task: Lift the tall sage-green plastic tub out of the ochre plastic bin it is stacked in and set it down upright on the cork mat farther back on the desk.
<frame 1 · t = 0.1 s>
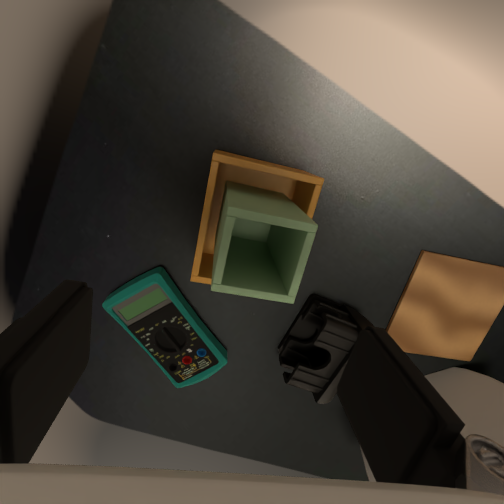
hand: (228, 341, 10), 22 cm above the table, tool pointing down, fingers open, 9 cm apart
end cap: (316, 329, 38), on the table
digital multimeter: (172, 323, 36), on the table
sage tub: (248, 215, 31), point 1 cm above the table, touching ochre bin
cork mat: (446, 309, 38), on the table
alarm clock: (412, 397, 44), on the table
ochre bin: (248, 213, 32), on the table
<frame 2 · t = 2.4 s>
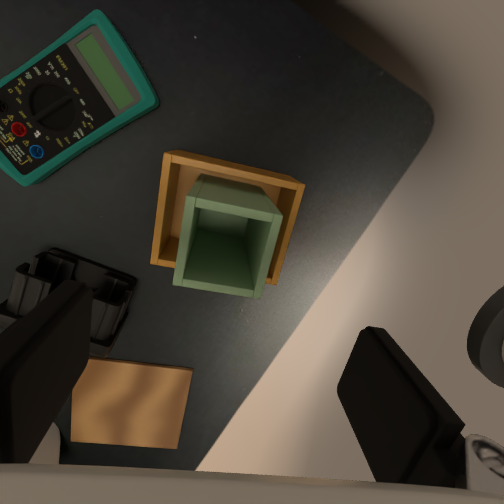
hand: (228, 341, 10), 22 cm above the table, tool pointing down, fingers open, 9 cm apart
end cap: (87, 288, 33), on the table
digital multimeter: (72, 108, 26), on the table
sage tub: (225, 209, 30), point 1 cm above the table, touching ochre bin
cork mat: (130, 404, 39), on the table
alarm clock: (5, 403, 37), on the table
ochre bin: (225, 208, 31), on the table
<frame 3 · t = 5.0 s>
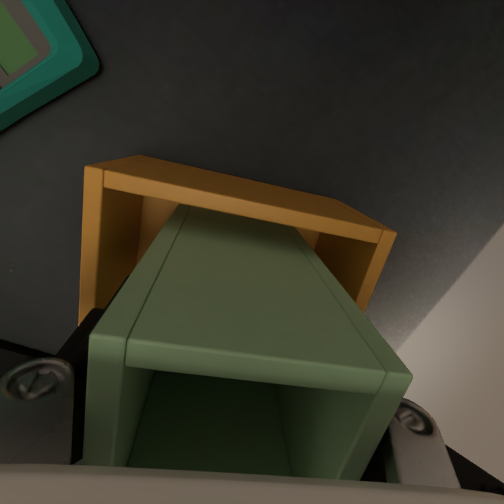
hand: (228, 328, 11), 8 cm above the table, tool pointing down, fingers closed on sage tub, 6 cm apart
end cap: (1, 380, 20), on the table
sage tub: (226, 257, 17), point 1 cm above the table, touching gripper, ochre bin
ochre bin: (226, 253, 18), on the table
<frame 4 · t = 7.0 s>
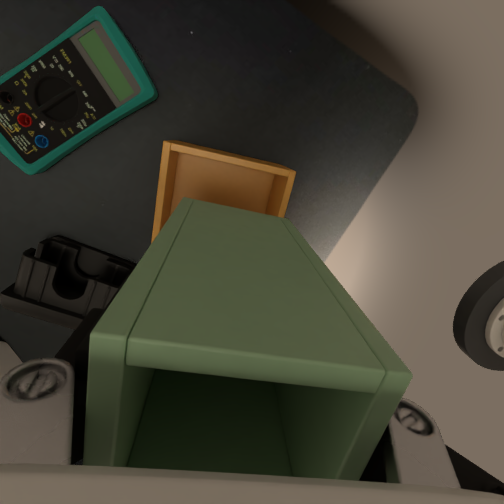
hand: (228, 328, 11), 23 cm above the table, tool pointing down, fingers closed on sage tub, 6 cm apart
end cap: (89, 275, 34), on the table
digital multimeter: (74, 100, 28), on the table
sage tub: (226, 257, 17), point 16 cm above the table, touching gripper
alarm clock: (10, 387, 38), on the table
ochre bin: (221, 196, 32), on the table
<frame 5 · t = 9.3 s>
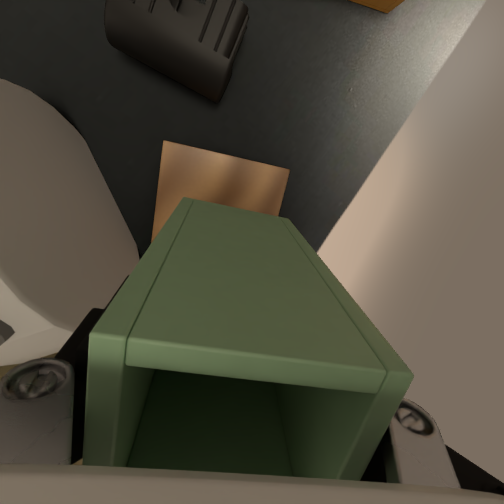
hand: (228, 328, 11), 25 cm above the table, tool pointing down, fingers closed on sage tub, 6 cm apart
end cap: (186, 46, 29), on the table
sage tub: (226, 257, 17), point 18 cm above the table, touching gripper
cork mat: (217, 216, 35), on the table
alarm clock: (82, 206, 33), on the table
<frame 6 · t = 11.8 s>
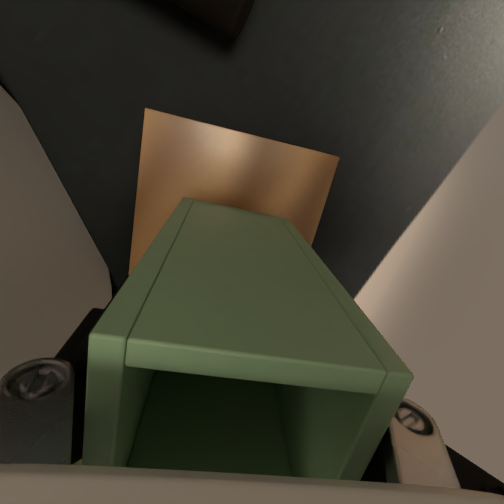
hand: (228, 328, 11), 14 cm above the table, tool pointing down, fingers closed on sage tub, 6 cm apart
sage tub: (226, 257, 17), point 7 cm above the table, touching gripper
cork mat: (227, 226, 24), on the table
alarm clock: (23, 211, 22), on the table
when the fingers open (7 cm above the table, at t = 13.8 s): sage tub stays where it is, resting on cork mat.
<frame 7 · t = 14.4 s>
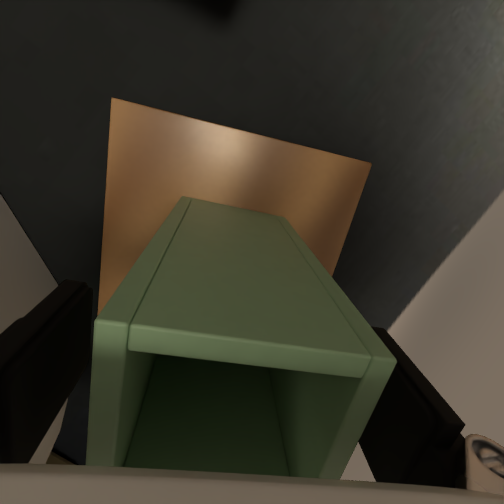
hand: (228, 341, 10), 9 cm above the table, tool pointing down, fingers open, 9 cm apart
sage tub: (224, 254, 18), resting on cork mat
cork mat: (225, 252, 18), on the table
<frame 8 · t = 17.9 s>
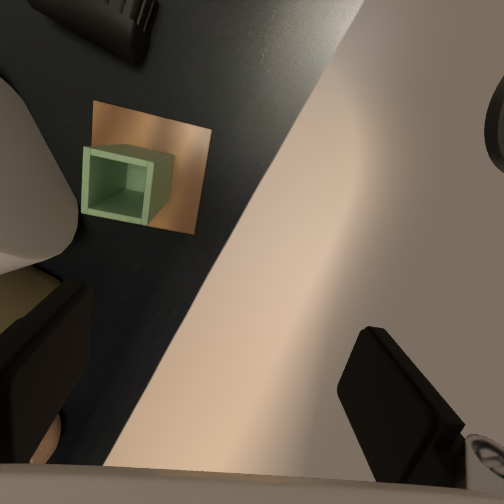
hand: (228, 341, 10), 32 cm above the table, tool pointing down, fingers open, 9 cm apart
end cap: (109, 14, 33), on the table
sage tub: (147, 173, 38), resting on cork mat
cork mat: (149, 173, 39), on the table
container: (5, 297, 43), on the table
alarm clock: (24, 162, 37), on the table
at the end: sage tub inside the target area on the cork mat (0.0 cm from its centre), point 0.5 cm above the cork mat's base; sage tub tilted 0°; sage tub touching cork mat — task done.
